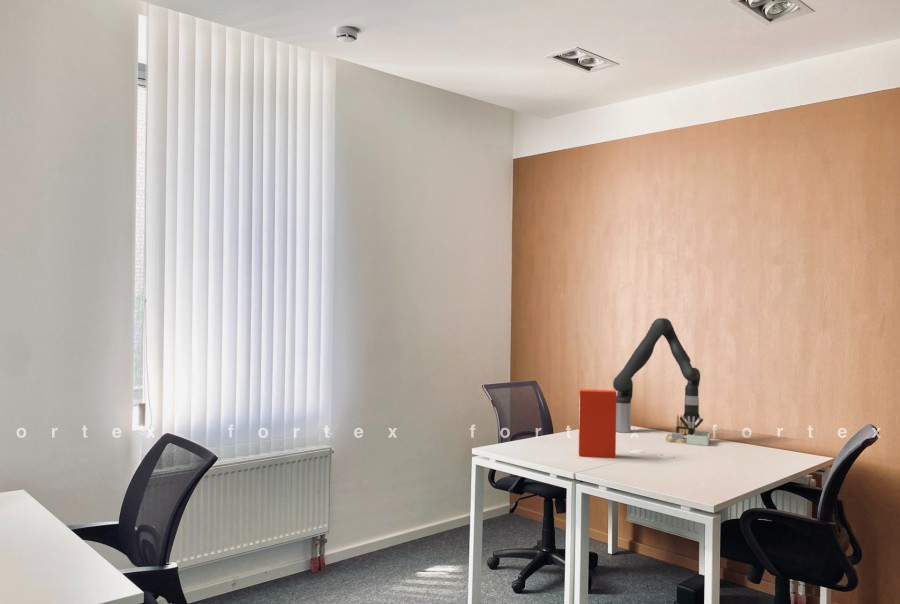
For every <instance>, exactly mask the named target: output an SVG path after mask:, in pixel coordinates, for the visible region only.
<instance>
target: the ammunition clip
mask: <svg viewBox="0 0 900 604" xmlns="http://www.w3.org/2000/svg"><path fill="white" fill-rule="evenodd" d="M682 416H683V415H682V414H680V415H679V414H677V415H676V421H675V426H676V427H675V433H684V436H687V435H689V428H688V427H686V426H685V425H684V424H683V423H682V421H681V420H680V417H682ZM684 421H685V422H686V423H687V424H688V421H687V420H686V419H685V417H684ZM691 428H692V422H691ZM694 431H696V428H694Z"/></svg>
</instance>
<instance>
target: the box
mask: <svg viewBox="0 0 900 604" xmlns="http://www.w3.org/2000/svg"><path fill="white" fill-rule="evenodd" d="M697 435H701V436H697ZM709 442H711V432H710V431H703V430H701V431H700V430H695V431H694V434H693V435H690V434H689V435H687V444H686V445H692V446H702V445H703V447H704V446H705V447H708V446H709V444H710V443H709Z"/></svg>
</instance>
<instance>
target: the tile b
mask: <svg viewBox="0 0 900 604" xmlns="http://www.w3.org/2000/svg"><path fill="white" fill-rule="evenodd" d="M671 434H672V438H673V439H684V433H683V432H682V433H676V432H671Z"/></svg>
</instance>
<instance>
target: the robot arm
mask: <svg viewBox="0 0 900 604" xmlns="http://www.w3.org/2000/svg"><path fill="white" fill-rule="evenodd" d="M662 336H663V337H664V339H666V341H667V343H668V345H669V349H670V352H671V354H672V356H673V358H674V360H675V361H676V364H677V365H678V366H679V369H680V372H681V374H682V375H683V377H684V378H685V380H687V383H686V385H685V388H684V406H683V407H684V411H683V415H682V417H680V416H679V421H680V420H681V421H682V425H683V424H684V425H685V426H686V427H688V428H689V434H690V435H693V434H694V428H695V429H698V427H699V426H700V425H701V424H702V423H703V422H704V418H702V417H701V415H700V413H699V411H700V408H699V407H700V398H699V387H700V382H701V381H700V380H701V372H700V370H699V369H698V368H697V367H693V365H692V363H691V358H690V357H689V355H688V353H687V352H686V350H685V349H684V347H683V345H682V344H681V342H680V341H681V340H679V337H678V335H677V333H676V331H675V329H674V326H673V323H672V322H671V321H670V320H669V319H668V318H665V317H661V318H660V317H659V318H656V319H655V320H653V322H652V323H651V324H650V327H649V330H648V331H647V333H646V335H645V336H644V337H643V339H642V340H641V341H640V343H639V344H638V345H637V347H636V348H635V350H634V351H633V353H632V354H631V356H630V358H629V359H628V360H627V362H626V364H625V365H624V367H623V369H621V370H620V371H619V373H618V374H617V376H616V377H615V378H614V379H613V382H612V383H613V384H612V386H613V390H615V391H616V392H617V393H616V433H623V434H624V433H626V434H627V433H631V432H632V429H631V427H632V425H631V424H632V423H631V421H632V420H631V419H632V418H631V417H632V413H631V412H632V398H633V389H634V387H633V386H634V383H633V379H632V378H633V377H634V376H635V374H636V373H638V372H639V371H640V370H641V369H642V368H643V367H644V366H646V364H647V363H648V362H649V360H650V359H651V357H652V355H653V353H654V351H655V345H656V344H657V342H658V341H659V340H660V338H662ZM684 417H685V421H684ZM686 420H687V421H688V424H687V423H686ZM697 421H698V422H697ZM691 422H692V428H691ZM696 422H697V423H696Z"/></svg>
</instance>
